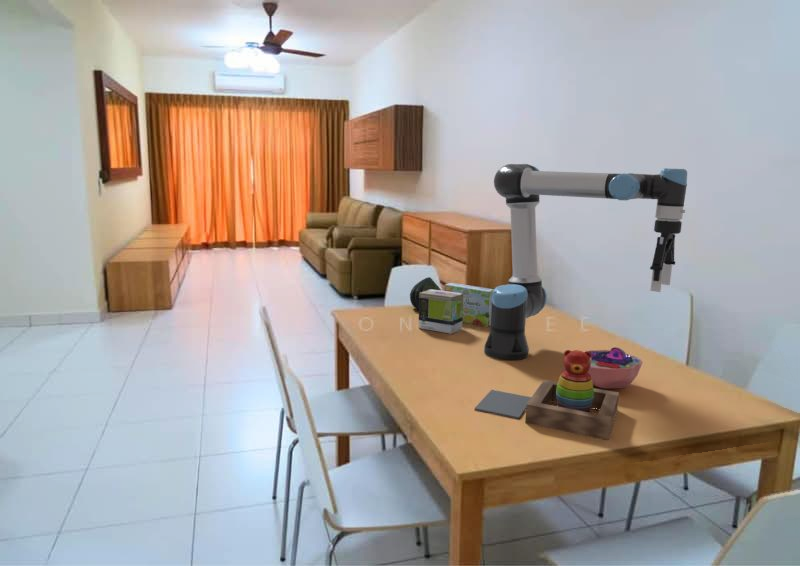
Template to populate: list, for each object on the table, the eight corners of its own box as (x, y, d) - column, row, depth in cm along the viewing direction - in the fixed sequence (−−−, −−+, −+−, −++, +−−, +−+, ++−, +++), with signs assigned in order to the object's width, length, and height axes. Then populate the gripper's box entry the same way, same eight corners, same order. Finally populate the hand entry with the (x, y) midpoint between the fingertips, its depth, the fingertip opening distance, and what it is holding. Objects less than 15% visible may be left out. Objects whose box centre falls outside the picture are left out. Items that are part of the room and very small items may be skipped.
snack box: (442, 319, 249) (443, 284, 246) (449, 316, 254) (450, 282, 251) (487, 327, 237) (489, 291, 234) (494, 324, 242) (496, 288, 239)
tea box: (462, 329, 234) (464, 292, 231) (451, 334, 226) (452, 297, 223) (429, 323, 242) (431, 287, 239) (417, 328, 234) (418, 292, 231)
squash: (413, 302, 254) (434, 275, 256) (399, 296, 267) (419, 271, 269) (434, 321, 259) (455, 295, 262) (420, 315, 273) (439, 289, 275)
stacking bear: (548, 420, 151) (553, 353, 148) (554, 405, 160) (559, 343, 157) (592, 427, 147) (599, 359, 144) (595, 412, 156) (601, 348, 153)
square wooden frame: (525, 422, 149) (526, 404, 148) (542, 396, 167) (544, 379, 166) (608, 440, 141) (610, 420, 140) (617, 410, 158) (619, 392, 157)
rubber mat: (474, 409, 156) (474, 408, 156) (491, 391, 170) (491, 389, 169) (518, 419, 151) (519, 417, 151) (532, 399, 164) (532, 397, 164)
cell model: (561, 380, 180) (563, 344, 178) (612, 372, 188) (615, 338, 186) (599, 400, 165) (603, 361, 163) (653, 391, 173) (657, 354, 170)
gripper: (673, 223, 168) (664, 296, 172) (689, 218, 188) (681, 283, 192) (645, 221, 172) (637, 292, 176) (664, 216, 192) (656, 280, 196)
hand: (660, 287), depth 184 cm, fingers open, 13 cm apart
